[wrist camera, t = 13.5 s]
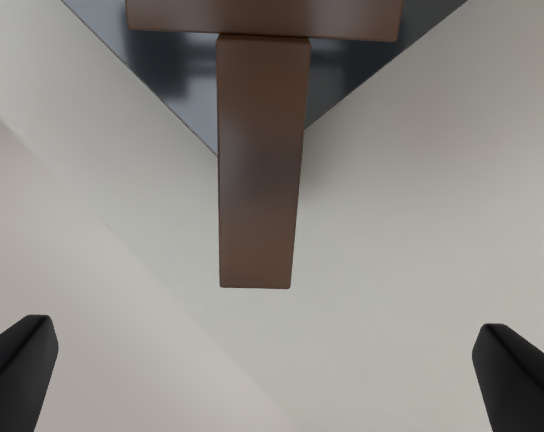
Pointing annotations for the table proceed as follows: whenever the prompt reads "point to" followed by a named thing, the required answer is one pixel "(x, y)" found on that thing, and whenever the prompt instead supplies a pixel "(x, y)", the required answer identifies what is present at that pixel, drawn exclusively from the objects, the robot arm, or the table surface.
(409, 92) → the table surface
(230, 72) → the brown t-shaped slab
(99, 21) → the plaque
